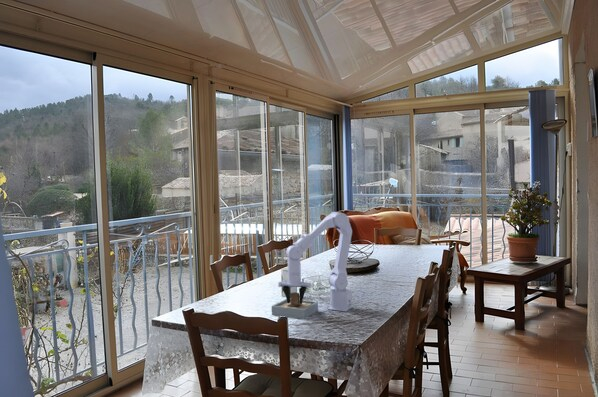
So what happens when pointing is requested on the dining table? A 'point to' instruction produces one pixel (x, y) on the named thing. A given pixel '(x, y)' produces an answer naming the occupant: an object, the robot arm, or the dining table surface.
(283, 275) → the syrup box
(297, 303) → the peg
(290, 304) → the bore plate
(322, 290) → the dining table surface
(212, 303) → the dining table surface
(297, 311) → the open box
